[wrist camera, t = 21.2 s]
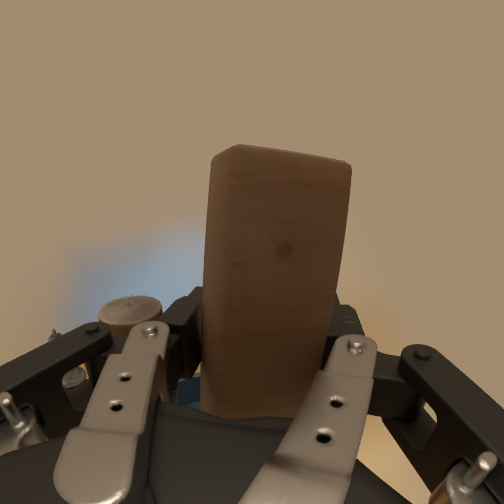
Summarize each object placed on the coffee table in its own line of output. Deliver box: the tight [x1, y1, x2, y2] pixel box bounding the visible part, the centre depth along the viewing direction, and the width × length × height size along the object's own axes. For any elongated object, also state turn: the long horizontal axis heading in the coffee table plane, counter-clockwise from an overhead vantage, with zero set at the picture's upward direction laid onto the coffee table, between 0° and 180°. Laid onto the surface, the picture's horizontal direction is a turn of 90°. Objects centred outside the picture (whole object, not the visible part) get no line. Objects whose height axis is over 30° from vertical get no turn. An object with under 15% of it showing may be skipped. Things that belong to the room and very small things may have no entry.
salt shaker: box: [49, 329, 86, 392], centre depth 36 cm, size 6×6×12 cm
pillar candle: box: [97, 296, 163, 336], centre depth 40 cm, size 10×10×15 cm
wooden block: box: [200, 144, 352, 419], centre depth 10 cm, size 7×3×15 cm, turn 106°
